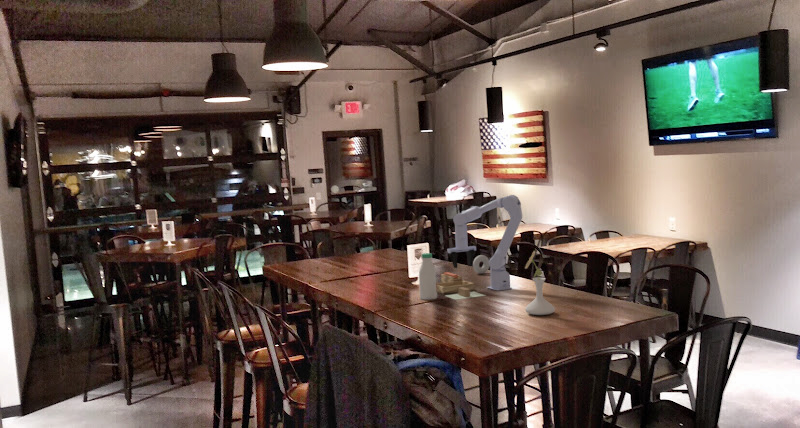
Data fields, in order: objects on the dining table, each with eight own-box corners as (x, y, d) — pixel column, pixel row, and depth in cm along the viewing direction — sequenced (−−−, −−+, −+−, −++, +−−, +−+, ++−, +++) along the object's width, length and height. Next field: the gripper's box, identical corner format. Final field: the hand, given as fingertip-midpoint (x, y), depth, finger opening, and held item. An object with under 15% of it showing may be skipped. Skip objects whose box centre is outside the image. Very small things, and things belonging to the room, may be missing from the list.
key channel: (462, 286, 326) (461, 276, 325) (453, 287, 324) (453, 277, 323) (449, 282, 337) (448, 273, 337) (441, 283, 336) (440, 274, 335)
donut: (475, 275, 356) (474, 256, 355) (471, 274, 359) (471, 255, 358) (491, 273, 360) (490, 254, 359) (487, 272, 363) (487, 253, 362)
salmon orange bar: (457, 278, 327) (457, 274, 327) (453, 278, 326) (453, 275, 326) (447, 275, 336) (447, 272, 336) (443, 275, 335) (443, 272, 335)
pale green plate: (486, 297, 302) (485, 288, 301) (455, 301, 296) (455, 292, 295) (474, 293, 311) (474, 284, 311) (444, 297, 305) (444, 288, 305)
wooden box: (474, 289, 316) (474, 283, 315) (443, 294, 309) (443, 287, 309) (462, 286, 326) (462, 280, 325) (432, 290, 319) (432, 284, 319)
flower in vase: (534, 309, 270) (532, 247, 268) (560, 312, 263) (558, 248, 261) (517, 316, 260) (515, 251, 258) (544, 319, 253) (542, 252, 251)
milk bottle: (435, 300, 296) (434, 254, 295) (418, 300, 298) (416, 255, 297) (438, 296, 304) (436, 252, 303) (421, 296, 306) (419, 252, 304)
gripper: (470, 236, 328) (471, 264, 329) (443, 239, 322) (445, 267, 323) (478, 237, 321) (479, 266, 322) (451, 240, 316) (452, 269, 317)
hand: (462, 266), depth 322 cm, fingers open, 7 cm apart
